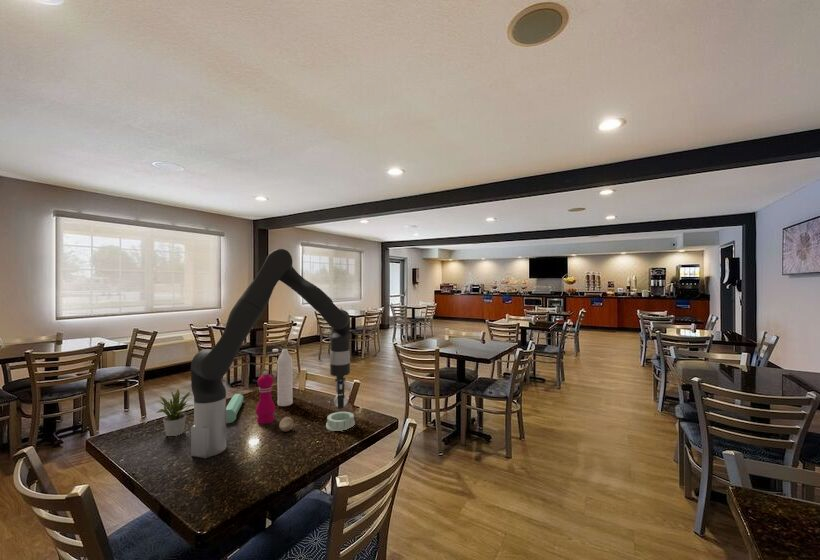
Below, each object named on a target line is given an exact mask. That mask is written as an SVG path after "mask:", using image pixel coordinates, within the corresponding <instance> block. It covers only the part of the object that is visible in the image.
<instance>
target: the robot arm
mask: <svg viewBox="0 0 820 560" xmlns="http://www.w3.org/2000/svg"><path fill="white" fill-rule="evenodd" d="M279 281H280V282H282V283H283V284H284V285H286V286H287V287H289V288H290V289H291V290H293V291H294V292H296V294H298V295H299V296H300V298H302V299H303V300H304V301H305V302H306V303H308V304H309V305H310V307H312V308H313V309H314V310H315V311H316V312H317V313H319V315H320V316H321V317H322V318H323V319H324V321H325V322H326V323H327V324H328V325H329V326H330V327H331V328H332V335H331V338H330V357H329V363H330V364H329V366H330V367H329V370H330V375H331V376H333V377H336V378H334V383H335V393H336V396H337V399H338V407H337V409H344V407H345V406H344V397H345V396H346V395H345V392H346V377H345V376H348V375H349V374H350V373H351V354H350V327H351V316H350V313H348V311H346V310H344V309H340V308H339V307H338V306H337V305H336V304H334V302H333V300H332V298H331V297H330V296H328V294H326V292H324V291H323V290H322V289H321V288H319V287H318V286H317V285H315V284H314V283H312V282H310V281H308V280H307V279H305V278H304V277H302V275H300V273H298V271H297V270H296V269H295V268H294V266H293V257H292V255H291V253H290V252H289V251H288V250H287V249H284V248H277V249H276V248H275V249H274V250H272V251H271V252H269V253H268V255H267V257H266V259H265V260H264V263H263V264H262V266H261V267H260V269H259V272H258V273H257V274H256V276H255V278H254V279H253V280H252V282H251V283H250V284H249V285H248V287H247V288H246V289H245V290H244V292H243V293H242V295H241V296H240V297H239V298H238V300H237V301H236V303H235V304H234V306H233V307H232V309H231V310H230V312H229V314H228V318H227V320H226V324H225V328H224V331H223V333H222V335H221V336H220V338H219V339H218V341H217V342H216V344H215V345H214V346H213V347H212V348H211V349H210V348H206V349H205V348H204V349H201V350H200V351H198V352H197V353H196V354H195V355H194V356H193V358H192V360H191V363H190V381H191V393H193V394H192V395H193V404H194V405H193V425H192V426H191V427H190V435H191V436H190V438H191V439H190V443H191V444H190V446H191V447H190V448H191V449H190V451H191V452H190V453H191V454H190V455H191V457H197V458H200V459H201V458H202V459H208V458H210V457H214V456H216V455H219V454H221V453H223V452H224V451H225V450H226V449H227V423H226V407H227V389H226V387H225V385H224V383H223V380H222V377H224V376H225V375H226V373H228V371H229V369H230V368H231V366H232V364H233V361H234V360H235V358H236V356H237V354H238V352H239V350H240V349H241V347H242V345H243V343H244V341H245V340H246V339H247V337H248V336H249V334H250V333H251V331H252V330H253V328H254V327H255V325H256V323H257V322H258V320H259V319H260V317H261V316H262V314H263V313H264V311H265V310H266V307H267V305H268V303H269V301H270V299H271V296H272V294H273V291H274V289H275V287H276V285H277V284H278V282H279ZM339 394H343V395H339ZM344 395H345V396H344Z"/></svg>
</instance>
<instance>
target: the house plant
mask: <svg viewBox="0 0 820 560" xmlns="http://www.w3.org/2000/svg"><path fill="white" fill-rule="evenodd" d="M170 392H171V395H172V398H170V399H169V401H168V400H166V398H165V397H162V395H156V396H157V397H158V398H159V399H161V401H160V400H158V399H157V400H156V402H159V403H161V404H162V405H163V408H160V409H159V410H158V411H157V412H156V413H155V414H158V413H159V414H160V413H164V414H165V415H166V416H165V417H164V418H162V420H163V425H164V431H165V436H166V435H167V436H176V437H178V436H177V435H179V436H181V435H183V434H182V433H184V430H185V425H186V424H185V423H186V420H187V414H186V413H181V412H182V411H183V410H184V409H185V408H186V410H188V409H189V408H190V407H193V406H194V403H193V404H191V405H190V404H189V405H188V403H187V402H188V401H190V399H191V397H190V398H189V396H191V395H193V392H192V390H189V391H188V392H187V393H186V394H185V395H184V396H182V397H181V395H180V390H179V388H177V390H176V391H175V393H173V391H172V390H170ZM180 400H181V401H180ZM180 434H181V435H180ZM167 436H166V437H167Z"/></svg>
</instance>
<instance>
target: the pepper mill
mask: <svg viewBox="0 0 820 560" xmlns="http://www.w3.org/2000/svg"><path fill="white" fill-rule="evenodd" d="M274 382H275V381H274V377H273V376H272V375H270V374H269V372H268V370H264V371H263V373H262V375H260V376H259V377H258V378H257V386H258V392H259V399H258V402H257V405H256V406H255V407H256V408H255V414H256V415H257V417H256V422H257V424H261V425H266V424H269V423H273V422H274V421H275V415H274V414H275V411H276V404H275V402H274V400H273V398H272V391H273V384H274Z"/></svg>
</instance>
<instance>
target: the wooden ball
mask: <svg viewBox="0 0 820 560" xmlns="http://www.w3.org/2000/svg"><path fill="white" fill-rule="evenodd" d="M278 427H279V429H280V430H281V431H282V432H289V431H291V430H292V428H293V427H294V420H293V419H292V418H291V417H288V416H285V417H283V418H281V420H280V421H279V425H278Z"/></svg>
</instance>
